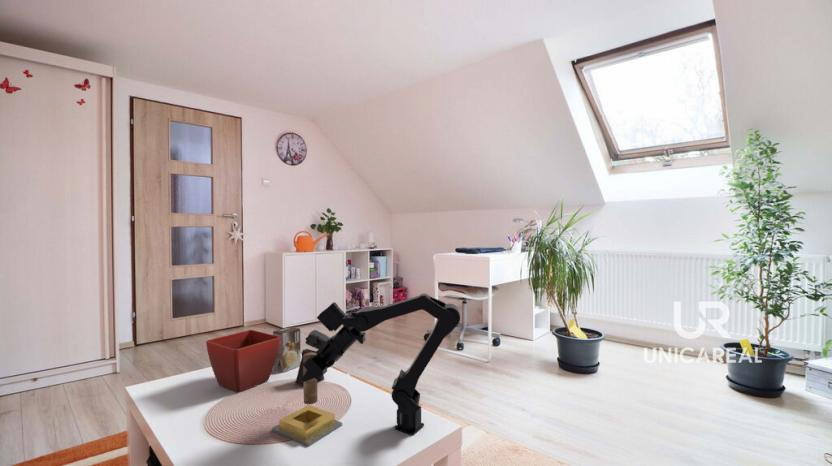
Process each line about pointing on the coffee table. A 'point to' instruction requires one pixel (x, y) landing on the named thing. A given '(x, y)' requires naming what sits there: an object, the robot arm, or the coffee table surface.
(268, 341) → the plant pot
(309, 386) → the pin
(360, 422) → the coffee table surface
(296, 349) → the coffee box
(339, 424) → the socket
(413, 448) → the coffee table surface
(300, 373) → the phone stand
